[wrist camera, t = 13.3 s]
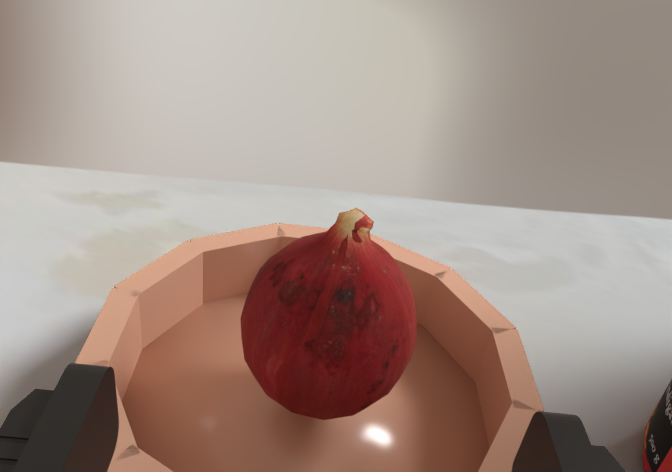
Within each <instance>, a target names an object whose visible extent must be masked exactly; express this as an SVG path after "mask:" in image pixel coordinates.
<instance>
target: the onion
mask: <svg viewBox="0 0 672 472" xmlns="http://www.w3.org/2000/svg"><path fill="white" fill-rule="evenodd" d="M373 223H374V222H373V221H372V220H371V219H370V218H369V217H368V216H367V215H366V214H365V213H364V212H362V211H361V210H359V209H357V208H355V209H353V210H350V211H347V212H342V213H339V215H338V218H337V221H336V223H335V224H334V225H333V226H332V227H331V228H330V229H329V230H328V231H325V232H321V233H316V234H312V235H308V236H303V237H301V238H299V239H297V240H294V241H293V242H291V243H290V244H288V245H287V246H286V247H284V248H283V249H282V250H280V251H279V252H277V253H276V254H275V255H273V256H272V257H271V258H269V259H268V260H267V262H266V263H265V264H264V265H263V266H262V267H261V268H260V269H259V271H258V273H257V275H256V277H255V279H254V281H253V282H252V285H251V287H250V290H249V292H248V295H247V297H246V300H245V304H244V307H243V311H242V314H241V318H240V319H241V338H242V346H243V353H244V360H245V362H246V363H247V365H248V367H249V369H250V371H251V372H252V374H253V376H254V377H255V379H256V380H257V382H258V383H259V385H260V386H261V388H262V389H263V391H264V392H265V393H266V395H267V396H268V397H270V398H271V399H273V400H274V401H276V402H277V403H279V404H280V405H282V406H283V407H285V408H286V409H287V410H289V411H290V412H292V413H296V414H300V415H304V416H309V417H313V418H317V419H321V420H328V419H334V418H341V417H347V416H353V415H355V414H357V413H359V412H360V411H362V410H364V409H366V408H367V407H369V406H370V405H372V404H373V403H375V402H377V401H378V400H380V399H381V398H383V397H384V396H386V395H388V394H389V392H390V391H391V390H392V388H393V387H394V386H395V384H396V383H397V382H398V380H399V379H400V377H401V375H402V374H403V372H404V370H405V369H406V367H407V365H408V363H409V362H410V360H411V358H412V355H413V351H414V348H415V344H416V339H417V322H416V310H415V301H414V297H413V294H412V290H411V287H410V285H409V283H408V281H407V279H406V277H405V275H404V274H403V272H402V271H401V269H400V268H399V266H398V264H397V263H396V261H395V260H394V259H393V257H392V256H391V255H390V254H389V252H387V251H386V250H385V249H384V248H383V247H381V246H380V245H378V244H377V243H375V242H374V241H372V240H371V238H370V230H371V229H372V227H373Z"/></svg>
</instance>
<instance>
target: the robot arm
mask: <svg viewBox="0 0 672 472" xmlns="http://www.w3.org/2000/svg"><path fill="white" fill-rule="evenodd" d="M118 431H119V415H118V405H117V394H116V383H115V374H114V369H113V368H112V367H107V366H98V365H88V364H78V363H71V364H69V365H68V366H67V367H66V369H65V371H64V373H63V374H62V376H61V378H60V380H59V382H58V384H57V386H56V388H55V390H54V391H51V390H41V389H35V390H34V391H33V392H31V393H30V394H29V395H28V396H27V397H26V398H24V399H23V400H22V401H21V402H20V403H19V404H17V405H16V406H15V407H14V408H13V409H12V410H11V411H10V413H9V414H8V416H7V418H6V420H5V421H4V423H3V425H2V427H1V428H0V472H107V471H108V468H109V465H110V462H111V460H112V457H113V454H114V451H115V447H116V443H117V438H118ZM512 472H625V471H624V469H623V468H622V467H621V466H620V465H619V463H618V462H617V461H616V460H615V459H614V458H613V456H612V455H611V454H610V453H609V452H608V450H607V449H606V448H605V447H603V446H593V445H591V444H590V441H589V439H588V436H587V433H586V431H585V428H584V426H583V423H582V421H581V420H580V418H579V417H578V416H576V415H569V414H559V413H549V412H539V411H538V412H536V413H534V415H533V417H532V419H531V421H530V423H529V426H528V428H527V430H526V433H525V435H524V437H523V440H522V442H521V445H520V447H519V449H518V452H517V454H516V456H515V459H514V462H513V465H512Z"/></svg>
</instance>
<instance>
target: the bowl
mask: <svg viewBox="0 0 672 472" xmlns="http://www.w3.org/2000/svg"><path fill="white" fill-rule="evenodd" d="M328 230H329V229H328V228H319V227H310V226H301V225H292V224H283V223H279V226H278V224H277V223H275V224H270V225H264V226H259V227H254V228H248V229H243V230H238V231H232V232H227V233H222V234H217V235H211V236H206V237H201V238H195V239H190V241H188V240H187V241H186V242H184V243H183V244H181V245H179V246H178V247H176V248H175V249H173V250H171V251H170V252H168V253H166V254H165V255H163V256H162V257H160V258H158V259H157V260H155V261H154V262H152V263H150V264H149V265H147V266H146V267H144V268H142V269H141V270H139V271H138V272H136V273H134V274H133V275H131V276H130V277H128V278H126V279H125V280H123V281H122V282H120V283H118V284H117V285H115V286H114V288H112V290H111V292H110V294H109V296H108V298H107V300H106V302H105V304H104V306H103V308H102V310H101V312H100V314H99V316H98V318H97V320H96V322H95V324H94V326H93V328H92V330H91V332H90V334H89V336H88V338H87V340H86V342H85V344H84V346H83V348H82V350H81V352H80V354H79V356H78V358H77V360H76V362H75V363H78V364H88V365H98V366H107V367H112V368H113V369H114V374H115V383H116V394H117V405H118V415H119V431H118V438H117V443H116V447H115V451H114V454H113V457H112V460H111V462H110V465H109V468H108V471H107V472H512V465H513V462H514V459H515V456H516V454H517V452H518V449H519V447H520V445H521V442H522V440H523V437H524V435H525V433H526V430H527V428H528V426H529V423H530V421H531V419H532V417H533V415H534V413H536V412H538V411H539V412H544V409H543V406H542V403H541V400H540V397H539V394H538V391H537V388H536V385H535V382H534V379H533V376H532V373H531V370H530V367H529V363H528V360H527V357H526V354H525V351H524V348H523V345H522V342H521V339H520V336H519V333H518V330H515V329H516V327H515V326H514V325H513V324H512V323H511V322H509V321H508V320H507V319H506V318H505V317H504V316H503V315H502V314H501V313H500V312H499V311H498V310H497V309H495V308H494V307H493V306H492V305H491V304H490V303H489V302H488V301H487V300H486V299H485V298H484V297H483V296H481V295H480V294H479V293H478V292H477V291H476V290H475V289H474V288H473V287H472V286H471V285H470V284H469V283H467V282H466V281H465V280H464V279H463V278H462V277H461V276H460V275H459V274H458V273H457V272H456V271H455V270H453V269H451V270H450V268H451V267H448V266H446V265H443V264H441V263H439V262H436V261H434V260H432V259H429V258H427V257H424V256H422V255H420V254H417V253H415V252H413V251H410V250H408V249H405V248H403V247H401V246H398V245H396V244H394V243H391V242H389V241H386V240H384V239H382V238H379V237H377V236H375V235H372V234H370V238H371V240H372V241H374V242H375V243H377V244H378V245H380V246H381V247H383V248H384V249H385V250H386V251H387V252H389V254H390V255H391V256H392V257H393V259H394V260H395V261H396V263H397V264H398V266H399V268H400V269H401V271H402V272H403V274H404V275H405V277H406V279H407V281H408V283H409V285H410V287H411V290H412V294H413V297H414V301H415V310H416V322H417V339H416V344H415V348H414V351H413V355H412V358H411V360H410V362H409V363H408V365H407V367H406V369H405V370H404V372H403V374H402V375H401V377H400V379H399V380H398V382H397V383H396V384H395V386H394V387H393V388H392V390H391V391H390V392H389V394H388V395H386V396H384V397H383V398H381V399H380V400H378V401H377V402H375V403H373V404H372V405H370V406H369V407H367V408H366V409H364V410H362V411H360V412H359V413H357V414H355V415H353V416H347V417H341V418H334V419H328V420H321V419H317V418H313V417H309V416H304V415H300V414H296V413H292V412H290V411H289V410H287V409H286V408H285V407H283V406H282V405H280V404H279V403H277V402H276V401H274V400H273V399H271V398H270V397H268V396H267V395H266V393H265V392H264V391H263V389H262V388H261V386H260V385H259V383H258V382H257V380H256V379H255V377H254V376H253V374H252V372H251V371H250V369H249V367H248V365H247V363H246V362H245V360H244V353H243V346H242V338H241V319H240V318H241V314H242V311H243V307H244V304H245V300H246V297H247V295H248V292H249V290H250V287H251V285H252V282H253V281H254V279H255V277H256V275H257V273H258V271H259V269H260V268H261V267H262V266H263V265H264V264H265V263H266V262H267V260H268V259H269V258H271V257H272V256H273V255H275V254H276V253H277V252H279V251H280V250H282V249H283V248H284V247H286V246H287V245H288V244H290V243H291V242H293V241H294V240H297V239H299V238H301V237H303V236H308V235H312V234H316V233H321V232H325V231H328Z"/></svg>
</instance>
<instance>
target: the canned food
mask: <svg viewBox="0 0 672 472" xmlns="http://www.w3.org/2000/svg"><path fill="white" fill-rule="evenodd" d="M642 459H643V465H644V471H645V472H672V380H671V381H670V383H669V385H668V387H667V389H666V390H665V392H664V394H663V396H662V397H661V399H660V401H659V403H658V404H657V406H656V408H655V410H654V412H653V413H652V415H651V417H650V419H649V421H648V423H647V426H646V428H645V438H644V447H643V457H642Z"/></svg>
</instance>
